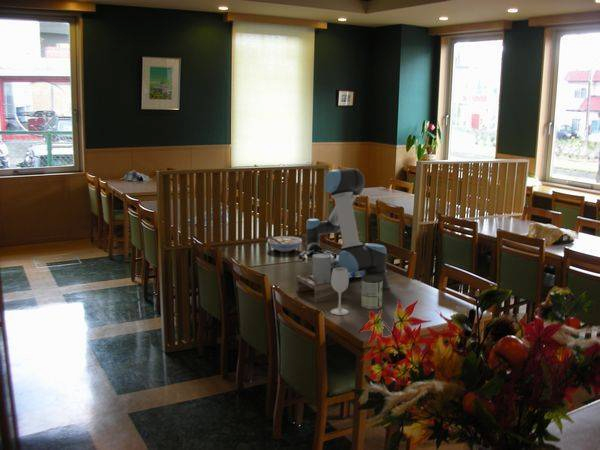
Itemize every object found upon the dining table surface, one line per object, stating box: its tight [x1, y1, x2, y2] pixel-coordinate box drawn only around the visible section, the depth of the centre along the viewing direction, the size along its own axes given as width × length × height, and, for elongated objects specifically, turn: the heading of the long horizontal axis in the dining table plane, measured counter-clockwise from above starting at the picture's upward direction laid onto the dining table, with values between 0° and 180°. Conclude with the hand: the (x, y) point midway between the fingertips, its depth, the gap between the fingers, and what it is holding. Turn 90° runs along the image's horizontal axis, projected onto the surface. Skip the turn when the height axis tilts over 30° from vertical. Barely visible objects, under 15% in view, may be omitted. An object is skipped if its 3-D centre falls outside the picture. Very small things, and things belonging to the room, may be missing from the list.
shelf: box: [295, 273, 349, 303], centre depth 325 cm, size 22×18×8 cm
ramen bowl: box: [266, 235, 303, 253], centre depth 416 cm, size 25×23×8 cm
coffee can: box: [360, 275, 383, 310], centre depth 306 cm, size 10×10×14 cm
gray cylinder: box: [312, 253, 332, 282], centre depth 323 cm, size 10×10×12 cm
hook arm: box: [310, 276, 331, 284], centre depth 324 cm, size 15×6×2 cm, turn 27°
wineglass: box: [329, 266, 350, 316], centre depth 296 cm, size 9×9×21 cm
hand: (319, 260), depth 329 cm, fingers open, 13 cm apart
